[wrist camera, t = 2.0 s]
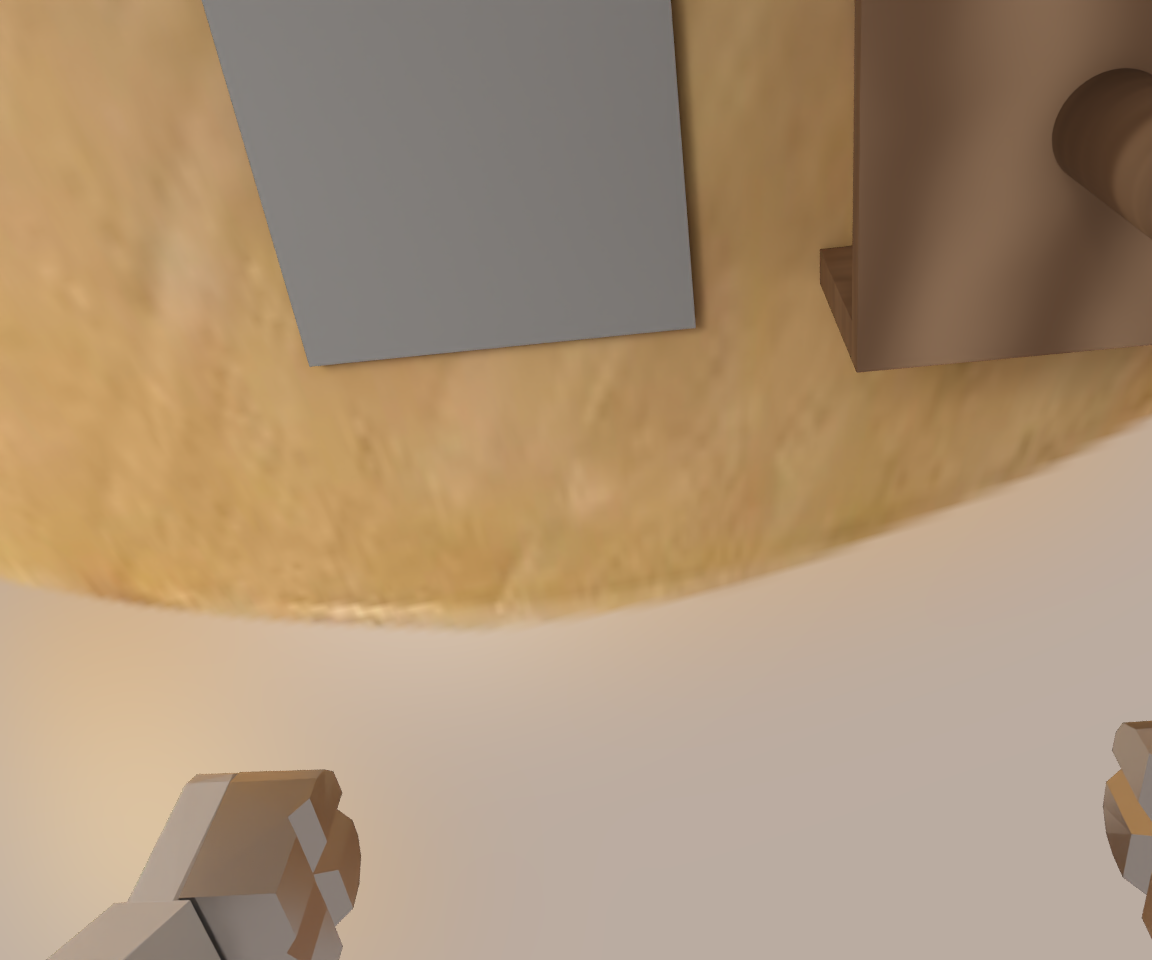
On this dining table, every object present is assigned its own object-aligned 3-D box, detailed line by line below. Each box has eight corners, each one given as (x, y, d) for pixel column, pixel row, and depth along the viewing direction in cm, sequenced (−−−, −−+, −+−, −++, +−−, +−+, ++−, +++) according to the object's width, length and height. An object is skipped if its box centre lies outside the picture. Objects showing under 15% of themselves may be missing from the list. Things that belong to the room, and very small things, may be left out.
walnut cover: (820, 283, 40) (921, 528, 26) (817, -126, 33) (955, -102, 19) (1196, 244, 39) (1526, 482, 24) (1279, -194, 32) (1819, -226, 17)
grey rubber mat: (314, 358, 43) (309, 366, 43) (191, -67, 35) (182, -65, 34) (694, 320, 41) (695, 327, 41) (659, -138, 33) (660, -138, 32)
